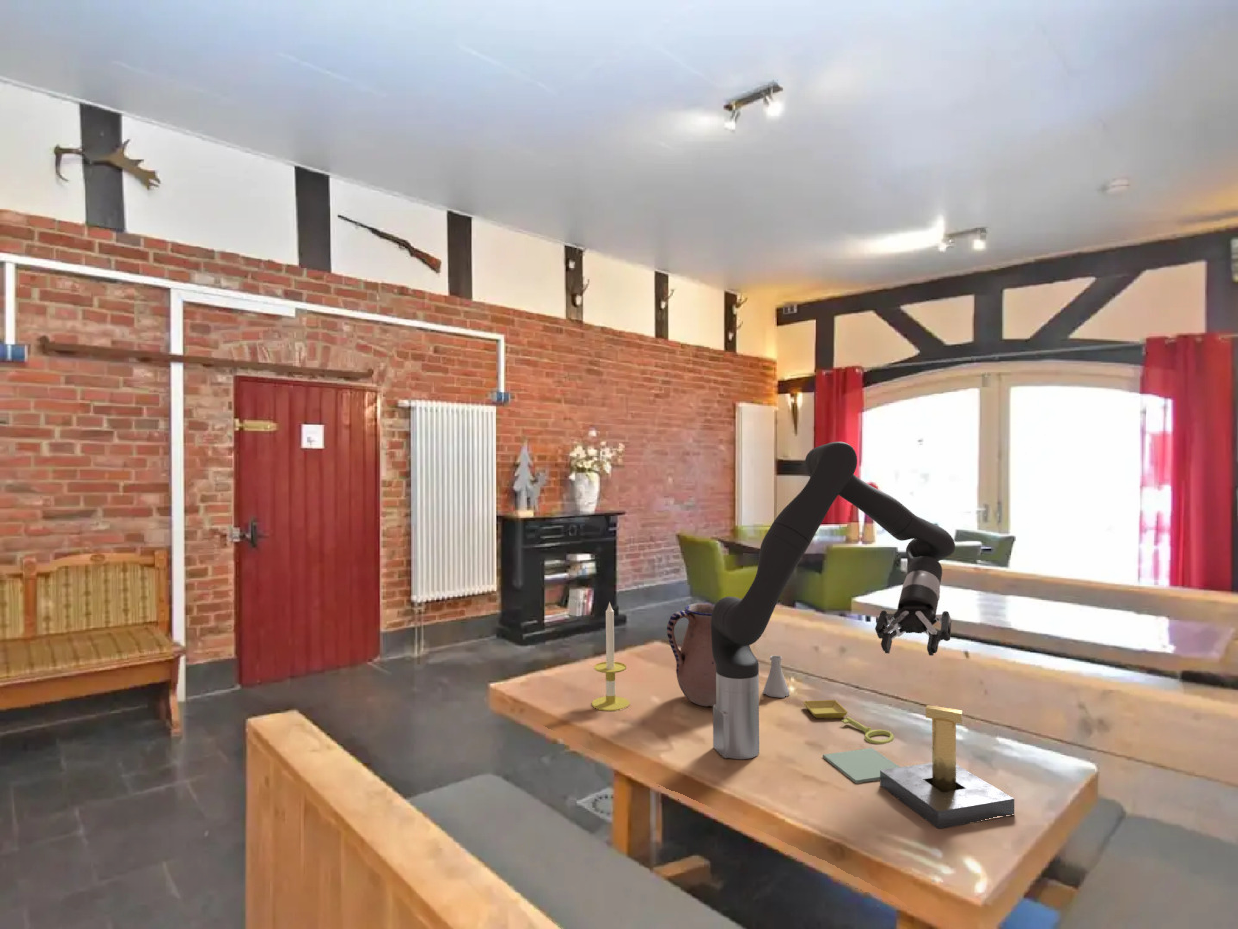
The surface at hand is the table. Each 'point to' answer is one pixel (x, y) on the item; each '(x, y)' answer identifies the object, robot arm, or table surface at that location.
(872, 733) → the key
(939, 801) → the cover plate
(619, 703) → the candle
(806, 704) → the yellow square tray
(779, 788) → the table surface
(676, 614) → the ceramic pitcher
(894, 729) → the table surface
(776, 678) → the flask
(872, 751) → the mat
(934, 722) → the t key
